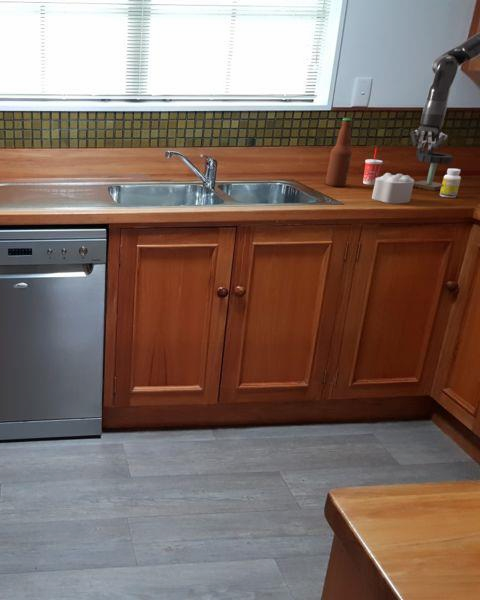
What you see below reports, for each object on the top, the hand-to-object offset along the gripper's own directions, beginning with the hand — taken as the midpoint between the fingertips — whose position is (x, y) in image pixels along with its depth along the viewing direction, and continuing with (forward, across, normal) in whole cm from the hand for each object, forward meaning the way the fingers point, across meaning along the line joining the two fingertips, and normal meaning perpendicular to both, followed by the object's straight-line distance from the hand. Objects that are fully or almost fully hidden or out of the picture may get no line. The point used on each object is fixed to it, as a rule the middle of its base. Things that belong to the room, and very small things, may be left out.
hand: (423, 158), depth 234 cm
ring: (0, -4, 0) cm, 4 cm away
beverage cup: (+10, +12, +14) cm, 21 cm away
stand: (+10, -4, 0) cm, 11 cm away
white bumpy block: (+10, -8, +32) cm, 35 cm away
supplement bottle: (+10, -16, +9) cm, 22 cm away
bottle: (+10, +16, +29) cm, 35 cm away
